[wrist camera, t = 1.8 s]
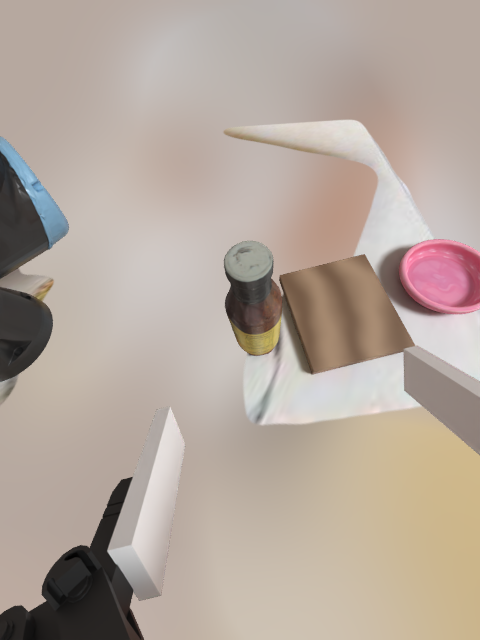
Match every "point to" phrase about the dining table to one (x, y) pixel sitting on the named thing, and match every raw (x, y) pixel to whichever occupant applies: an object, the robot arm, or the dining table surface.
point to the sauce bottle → (253, 297)
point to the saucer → (442, 276)
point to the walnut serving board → (343, 314)
